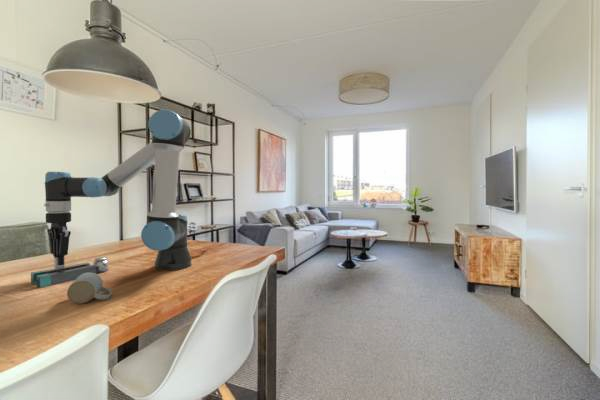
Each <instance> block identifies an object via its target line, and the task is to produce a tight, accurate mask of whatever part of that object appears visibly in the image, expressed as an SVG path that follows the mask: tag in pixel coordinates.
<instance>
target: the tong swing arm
mask: <svg viewBox="0 0 600 400" xmlns="http://www.w3.org/2000/svg"><path fill="white" fill-rule="evenodd" d="M106 259H107V257H106V256H100V257H95V258H94V261H104V260H106ZM90 265H91V263H89V262H84V263H78V264H77V263H76V264H73V265H67V266H65V267H60V268H55V269H54V268H49V269H45V270H38V271H32V272H30V284H32V285H37V275H42V274H51V273H55V272H60V271H65V270H70V269H75V268H80V267H85V266H90Z"/></svg>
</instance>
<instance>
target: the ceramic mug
mask: <svg viewBox="0 0 600 400" xmlns="http://www.w3.org/2000/svg"><path fill="white" fill-rule="evenodd" d="M103 285H104V281H103V278H102V277H101V276H100V275H98V273H96V274H95V273H84V274H81V275H80V276H78V277H77V279H76V280H73V282H72V283H71V284H70V285H69V286H68V289H67V293H66V294H67V299H68V300H69V301H70V302H72V303H74V304H79V305H80V304H86V303H88V302H90V301H91V300H93V299H97V300H107V299H109V298H111V295H112V293H113V292H112V291H111V289H109V288H107V287H105V286H103ZM100 292H101V293H103V294H100Z"/></svg>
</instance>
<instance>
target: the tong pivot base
mask: <svg viewBox="0 0 600 400" xmlns="http://www.w3.org/2000/svg"><path fill="white" fill-rule="evenodd" d="M92 262H93V263H92V264H90V266H85V267H80V268H75V269H70V270H65V271H60V272H55V273H51V274H42V275H37V284H36V287H37V288H40V289H41V288H45V287H50V286H53V285H58V284H63V283H66V282H72V281H75V280H76V279H77V277H78V276H80V275H81V274H84V273H95V274H102V273H106V272H108V271H109V259H107V258H106V260H104V261H95V260H93V261H92Z"/></svg>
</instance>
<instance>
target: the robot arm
mask: <svg viewBox="0 0 600 400" xmlns="http://www.w3.org/2000/svg"><path fill="white" fill-rule="evenodd" d="M147 124H148V125H147V126H148V129H149V132H150V133H151V135H152V136H151V142H149V143H147V144H146V145H145V146H144V147H142V148H141V149H139V150H138V151H136V152H134V154H132V155H131V156H130V157H128V158H127V159H125V160H124V161H122V162H121V163H120V164H119V165H117V166H116V167H114V168H113V169H112V170H110V171H109V172H107V173H106V174H105V175H103V176H102V177H93V176H92V177H90V176H89V177H73V176H71V173H70V172H68V171H47V172H46V173H45V175H44V176H45V177H44V178H45V180H44V188H45V189H44V190H45V191H44V192H45V203H44V204H43V206H44V207H45V212H46V213H45V223H47V224H50V228H49V229H47V233H48V238H49V239H48V240H49V247H50V253H51V255H52V256H53V257H54V258H53V265H54V266H53V269H55V268H60V267H66V266H65V256H68V253H69V243H70V236H71V234H72V232H71V231H70V230H68V225H67V223H70V222H71V221H72V213H71V211H72V198H75V197H77V198H101V197H112V196H115V195H116V194H118V193H119V190H120V188H121V187H123V186H124V185H126V184H127V183H128V182H130V181H131V180H133V179H134V178H135V177H137V176H138V175H139V174H141V173H142V172H144V171H146V170H147V169H148V168H149V167H150V166H152V165H153V164H154V170H153V171H154V173H153V184H152V185H153V186H152V200H151V201H152V203H151V210H150V211H149V212H148V213H146V224H145V225H144V227H143V228H142V229H141V234H140V237H141V241H142V243H143V244H144V245H145V246H146V247H147V249H150V250H153V251H156V252H157V254H156V257H155V261H154V268H155V269H156V270H158V271H159V270H160V271H175V270H176V271H177V270H182V269H186V268H189V267H191V266H192V257H191V255H190V252H189V248H188V217H187V215H185V214H178V213H177V211H176V210H177V209H176V208H177V195H178V183H179V182H178V181H179V179H178V178H179V168H180V167H179V166H180V165H179V163H180V152H181V151H182V150H184V149H185V144H187V142H188V141H189V139H190V138H191V135H192V130H191V126H190V124H189V123H188V122H187V121H186V120H185V119H184V118H182V117H181V116H180V114H178V112H175V111H173V110H170V109H165V108H164V109H159V110H157V111H154V112H153V114H151V115H150V117H149V120H148V122H147Z"/></svg>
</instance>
